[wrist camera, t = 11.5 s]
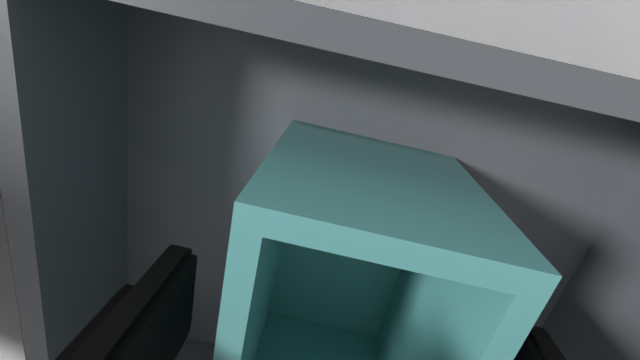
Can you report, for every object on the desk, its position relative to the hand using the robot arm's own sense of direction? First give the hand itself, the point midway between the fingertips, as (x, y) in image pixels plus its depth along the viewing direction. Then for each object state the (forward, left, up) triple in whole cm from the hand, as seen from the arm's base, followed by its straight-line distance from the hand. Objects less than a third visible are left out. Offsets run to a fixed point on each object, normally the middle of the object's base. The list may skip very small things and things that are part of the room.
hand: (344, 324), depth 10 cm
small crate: (0, 0, -4) cm, 5 cm away
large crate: (0, 0, -5) cm, 5 cm away
